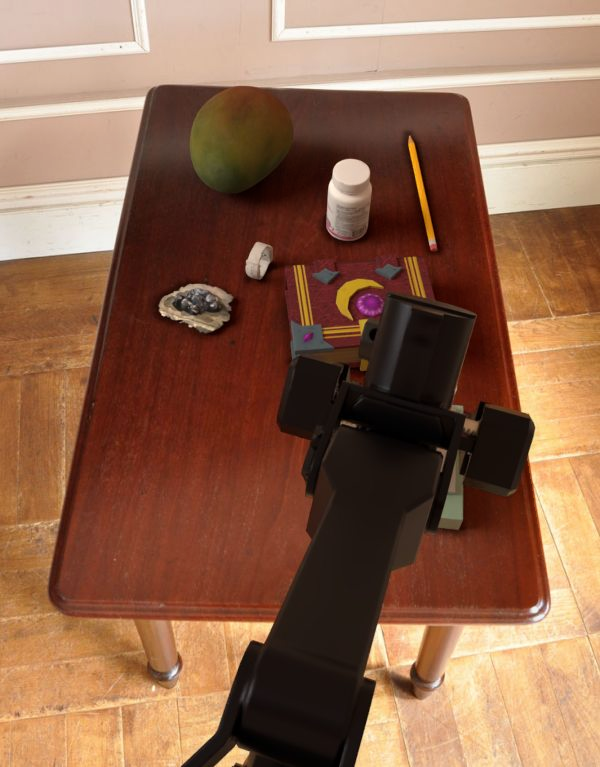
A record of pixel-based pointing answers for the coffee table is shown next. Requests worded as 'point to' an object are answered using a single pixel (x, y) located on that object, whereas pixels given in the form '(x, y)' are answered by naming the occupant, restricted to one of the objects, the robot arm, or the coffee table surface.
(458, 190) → the coffee table surface
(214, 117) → the fruit
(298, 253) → the coffee table surface
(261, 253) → the smartwatch
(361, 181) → the pill bottle
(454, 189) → the coffee table surface
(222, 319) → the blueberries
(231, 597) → the coffee table surface
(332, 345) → the decorative book
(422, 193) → the pencil
